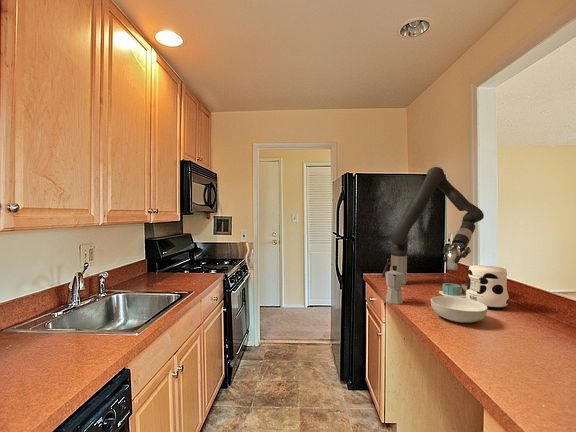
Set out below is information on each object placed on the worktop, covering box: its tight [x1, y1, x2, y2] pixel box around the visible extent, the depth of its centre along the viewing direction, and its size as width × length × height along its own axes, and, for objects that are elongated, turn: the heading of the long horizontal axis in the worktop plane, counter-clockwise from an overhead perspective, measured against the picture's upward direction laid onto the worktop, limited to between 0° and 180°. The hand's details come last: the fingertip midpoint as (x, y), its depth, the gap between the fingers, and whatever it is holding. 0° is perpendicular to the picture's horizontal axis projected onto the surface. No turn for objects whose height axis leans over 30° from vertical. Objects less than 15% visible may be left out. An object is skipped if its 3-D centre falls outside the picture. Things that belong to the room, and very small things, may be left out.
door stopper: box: [381, 258, 391, 278], centre depth 216 cm, size 9×6×12 cm, turn 72°
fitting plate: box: [438, 282, 468, 299], centre depth 168 cm, size 17×11×6 cm, turn 89°
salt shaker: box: [446, 250, 458, 271], centre depth 169 cm, size 5×5×10 cm
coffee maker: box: [385, 265, 404, 306], centre depth 157 cm, size 15×9×18 cm, turn 161°
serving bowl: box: [430, 295, 489, 324], centre depth 132 cm, size 21×21×7 cm
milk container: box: [466, 264, 510, 309], centre depth 152 cm, size 17×17×18 cm
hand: (450, 261), depth 168 cm, fingers closed on salt shaker, 5 cm apart
